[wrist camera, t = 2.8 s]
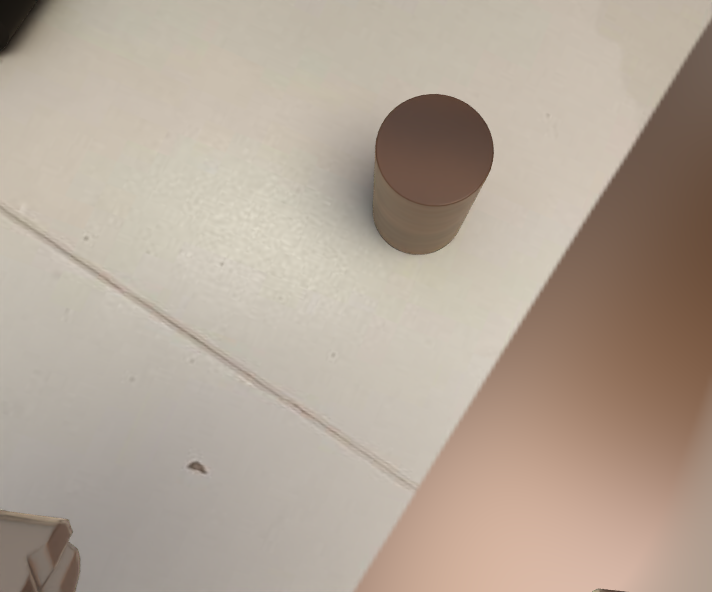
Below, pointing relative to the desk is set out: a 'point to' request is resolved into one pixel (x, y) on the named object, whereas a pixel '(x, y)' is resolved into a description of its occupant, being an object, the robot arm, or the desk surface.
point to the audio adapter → (12, 17)
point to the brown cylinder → (428, 171)
